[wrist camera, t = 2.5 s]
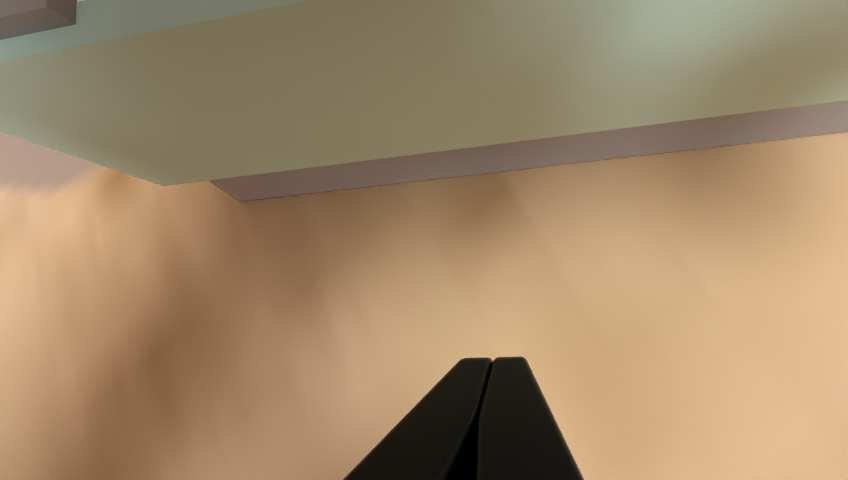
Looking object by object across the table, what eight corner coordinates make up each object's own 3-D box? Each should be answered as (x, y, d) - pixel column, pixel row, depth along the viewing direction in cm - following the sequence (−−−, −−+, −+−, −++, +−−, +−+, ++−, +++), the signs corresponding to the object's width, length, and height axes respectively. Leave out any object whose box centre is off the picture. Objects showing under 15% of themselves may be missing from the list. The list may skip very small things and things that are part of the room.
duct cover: (1001, -4, 15) (1018, 78, 14) (164, 124, 20) (163, 186, 20) (1585, -487, 6) (1659, -305, 6) (-160, -29, 12) (-170, 75, 11)
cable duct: (919, 123, 18) (996, 41, 15) (239, 201, 24) (172, 156, 20) (858, -94, 21) (911, -210, 17) (256, 22, 26) (199, -47, 23)
